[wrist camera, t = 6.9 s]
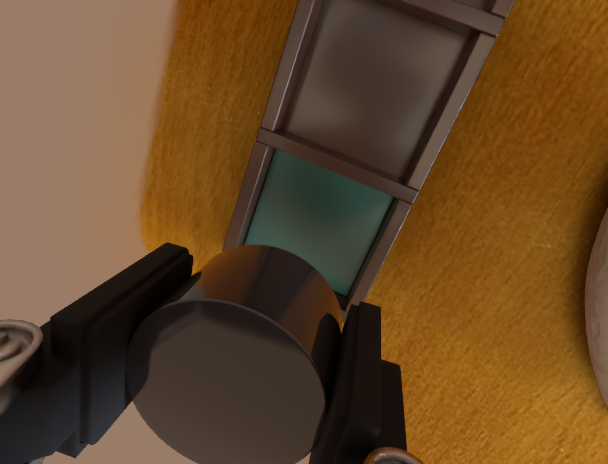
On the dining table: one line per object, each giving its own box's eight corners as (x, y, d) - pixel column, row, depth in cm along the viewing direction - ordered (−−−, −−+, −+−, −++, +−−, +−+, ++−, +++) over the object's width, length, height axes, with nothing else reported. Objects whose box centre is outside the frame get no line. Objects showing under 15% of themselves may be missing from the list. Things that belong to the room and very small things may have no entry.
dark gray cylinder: (235, 211, 10) (176, 254, 7) (375, 308, 10) (374, 390, 7) (166, 325, 11) (95, 398, 8) (287, 406, 11) (256, 506, 8)
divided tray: (354, 304, 19) (351, 326, 17) (232, 252, 20) (216, 268, 18) (595, -185, 12) (635, -238, 10) (391, -253, 12) (393, -316, 10)
